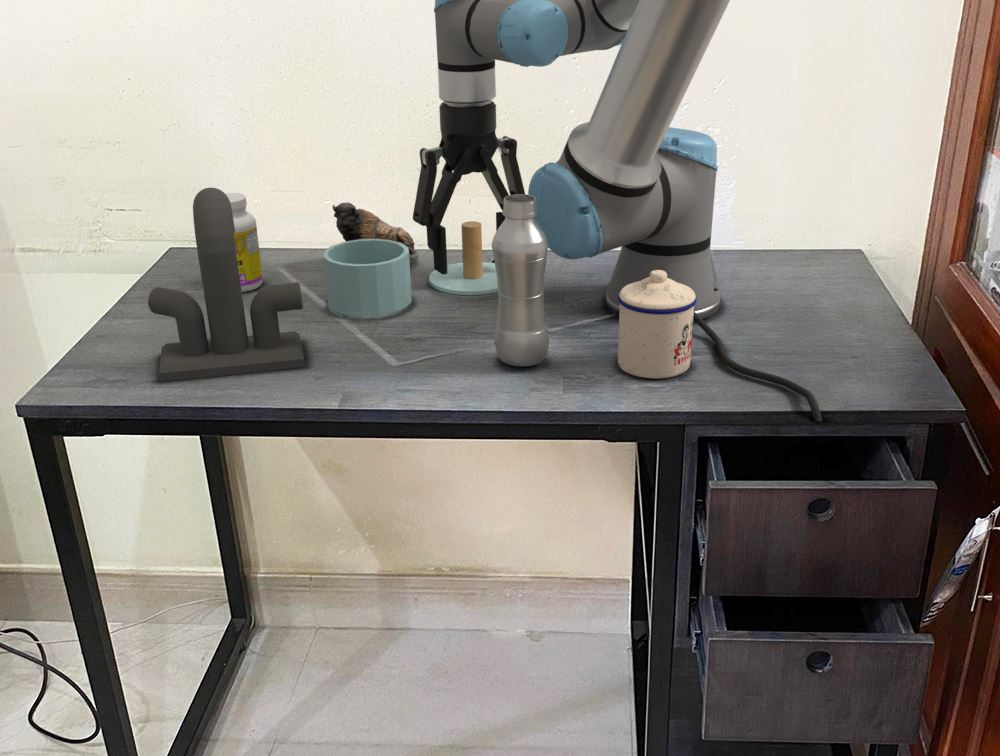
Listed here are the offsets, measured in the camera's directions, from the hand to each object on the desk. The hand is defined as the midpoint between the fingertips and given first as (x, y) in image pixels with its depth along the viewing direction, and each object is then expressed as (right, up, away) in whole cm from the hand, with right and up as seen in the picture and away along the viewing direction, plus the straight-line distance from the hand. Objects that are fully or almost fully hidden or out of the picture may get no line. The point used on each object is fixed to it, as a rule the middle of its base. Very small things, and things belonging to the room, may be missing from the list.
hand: (472, 265), depth 163 cm
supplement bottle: (-34, -3, +3) cm, 34 cm away
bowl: (-14, -6, -5) cm, 16 cm away
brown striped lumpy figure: (-14, +1, +8) cm, 16 cm away
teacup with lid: (+23, -17, -23) cm, 37 cm away
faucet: (-30, -15, -18) cm, 38 cm away
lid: (0, -2, +1) cm, 2 cm away
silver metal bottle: (+7, -17, -23) cm, 29 cm away
